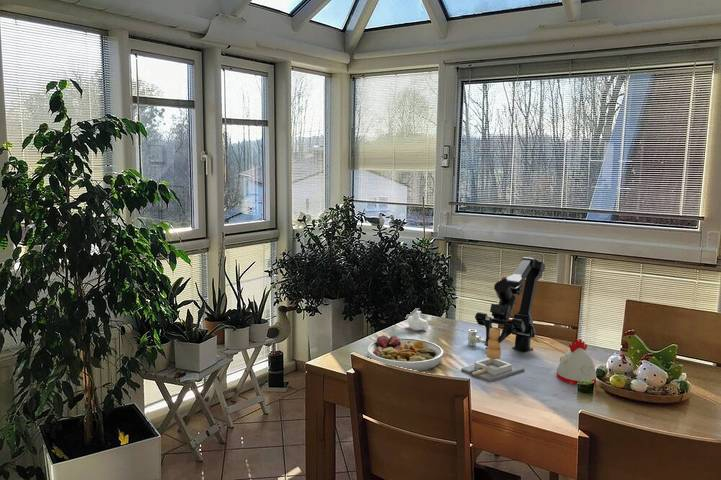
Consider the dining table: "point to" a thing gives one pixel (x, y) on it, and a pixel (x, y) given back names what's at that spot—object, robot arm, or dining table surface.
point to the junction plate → (492, 369)
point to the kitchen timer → (576, 364)
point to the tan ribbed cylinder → (494, 344)
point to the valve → (475, 338)
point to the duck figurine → (417, 322)
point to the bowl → (405, 352)
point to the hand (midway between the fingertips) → (493, 341)
